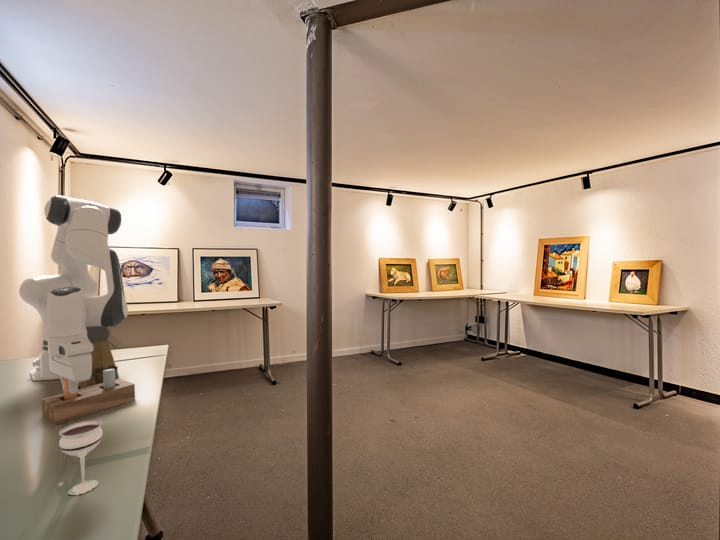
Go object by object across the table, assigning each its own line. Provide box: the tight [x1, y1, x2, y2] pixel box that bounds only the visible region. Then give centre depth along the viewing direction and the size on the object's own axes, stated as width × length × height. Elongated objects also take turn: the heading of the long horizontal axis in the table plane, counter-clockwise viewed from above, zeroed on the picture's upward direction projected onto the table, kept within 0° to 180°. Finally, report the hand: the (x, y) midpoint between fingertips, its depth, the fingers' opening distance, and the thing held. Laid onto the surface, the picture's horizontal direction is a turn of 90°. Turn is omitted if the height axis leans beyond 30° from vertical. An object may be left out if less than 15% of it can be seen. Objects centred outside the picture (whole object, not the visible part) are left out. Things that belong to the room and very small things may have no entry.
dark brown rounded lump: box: [91, 364, 118, 385], centre depth 120 cm, size 8×7×8 cm
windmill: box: [78, 326, 122, 389], centre depth 129 cm, size 21×14×30 cm, turn 148°
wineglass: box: [58, 419, 104, 493], centre depth 69 cm, size 7×7×12 cm
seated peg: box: [103, 369, 115, 390], centre depth 111 cm, size 3×3×10 cm
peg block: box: [41, 377, 136, 426], centre depth 107 cm, size 10×20×5 cm, turn 147°
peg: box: [62, 377, 77, 401], centre depth 103 cm, size 3×3×10 cm
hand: (70, 391), depth 103 cm, fingers closed on peg, 3 cm apart
